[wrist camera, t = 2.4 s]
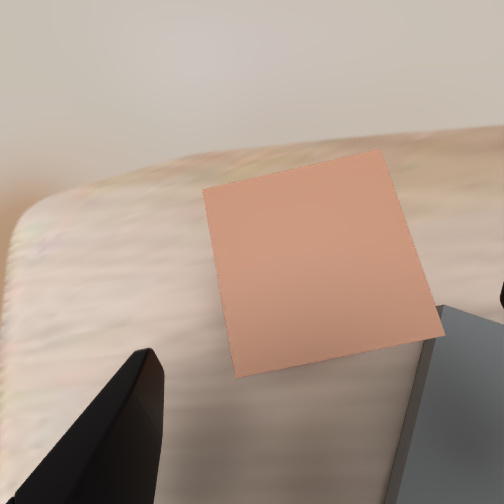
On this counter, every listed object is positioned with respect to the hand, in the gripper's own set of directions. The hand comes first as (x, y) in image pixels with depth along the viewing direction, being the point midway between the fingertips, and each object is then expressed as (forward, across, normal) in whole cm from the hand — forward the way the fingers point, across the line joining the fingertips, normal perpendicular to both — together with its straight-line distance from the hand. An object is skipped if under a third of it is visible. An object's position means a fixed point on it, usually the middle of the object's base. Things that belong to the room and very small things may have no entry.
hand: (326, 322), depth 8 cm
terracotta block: (+8, 0, +6) cm, 10 cm away
